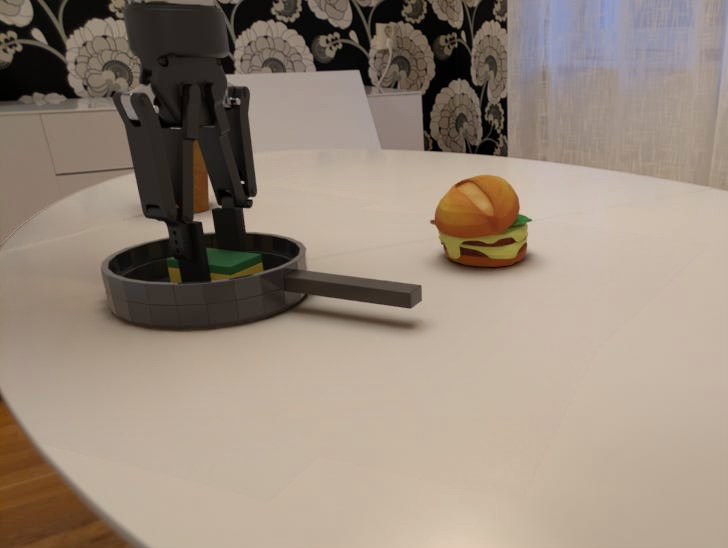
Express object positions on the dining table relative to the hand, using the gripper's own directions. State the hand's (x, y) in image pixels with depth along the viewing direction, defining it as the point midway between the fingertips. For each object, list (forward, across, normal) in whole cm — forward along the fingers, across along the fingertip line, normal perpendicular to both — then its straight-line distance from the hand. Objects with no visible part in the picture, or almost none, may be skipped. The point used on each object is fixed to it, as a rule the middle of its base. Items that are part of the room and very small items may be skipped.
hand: (217, 283), depth 63 cm
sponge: (0, 0, 0) cm, 0 cm away
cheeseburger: (+1, +20, -19) cm, 28 cm away
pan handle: (-1, -1, -15) cm, 15 cm away
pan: (+1, -1, 0) cm, 1 cm away
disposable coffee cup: (+1, +28, +29) cm, 40 cm away
